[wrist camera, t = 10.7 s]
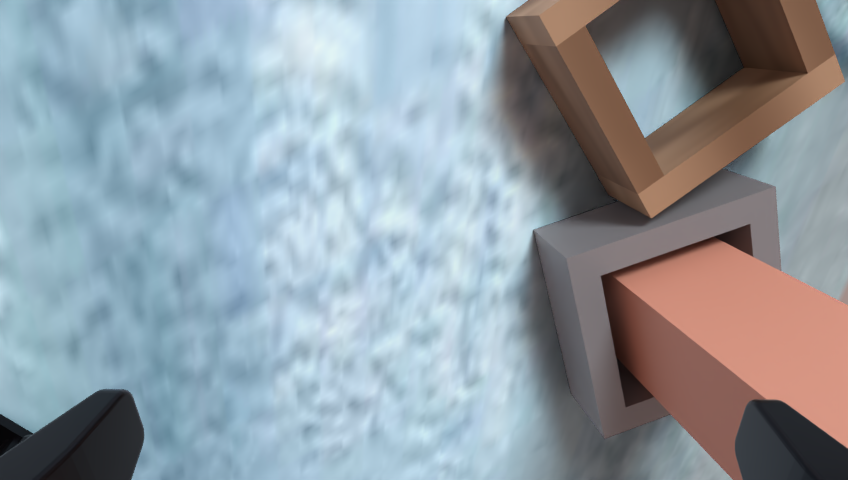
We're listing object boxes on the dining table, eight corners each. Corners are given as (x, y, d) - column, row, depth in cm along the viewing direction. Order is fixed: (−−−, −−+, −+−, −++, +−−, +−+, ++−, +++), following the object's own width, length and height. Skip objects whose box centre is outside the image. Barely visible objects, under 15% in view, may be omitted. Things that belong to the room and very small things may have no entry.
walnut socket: (608, 194, 23) (651, 218, 20) (505, 16, 20) (539, 15, 17) (777, 74, 22) (845, 81, 20) (696, -123, 20) (761, -148, 17)
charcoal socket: (571, 393, 25) (604, 438, 22) (533, 229, 23) (566, 258, 20) (735, 333, 26) (788, 370, 23) (718, 167, 23) (775, 186, 20)
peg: (602, 342, 25) (890, 645, 13) (585, 254, 23) (891, 499, 11) (693, 310, 25) (1059, 574, 13) (682, 220, 24) (1081, 424, 12)
